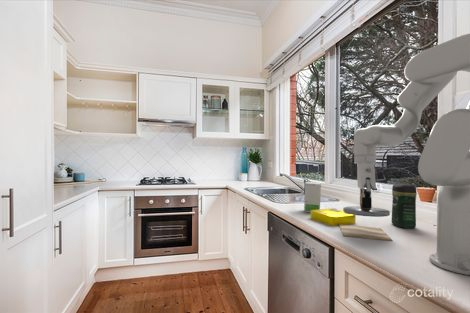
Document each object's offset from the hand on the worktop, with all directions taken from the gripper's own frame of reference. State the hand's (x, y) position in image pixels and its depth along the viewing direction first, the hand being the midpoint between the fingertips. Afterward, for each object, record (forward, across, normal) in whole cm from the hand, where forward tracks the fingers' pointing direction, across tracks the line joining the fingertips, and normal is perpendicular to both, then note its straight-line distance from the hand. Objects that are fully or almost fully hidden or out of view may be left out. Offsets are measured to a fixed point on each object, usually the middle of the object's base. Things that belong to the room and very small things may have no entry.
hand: (365, 206), depth 99 cm
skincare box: (+9, +34, +20) cm, 40 cm away
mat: (+10, +1, +1) cm, 10 cm away
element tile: (+10, +17, +11) cm, 23 cm away
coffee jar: (+10, +18, -18) cm, 28 cm away
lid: (+2, 0, 0) cm, 2 cm away
